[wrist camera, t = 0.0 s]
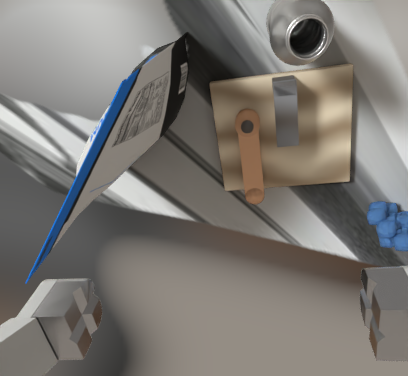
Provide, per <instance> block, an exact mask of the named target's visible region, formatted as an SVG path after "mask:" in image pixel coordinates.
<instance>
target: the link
mask: <svg viewBox="0 0 408 376" xmlns="http://www.w3.org/2000/svg"><path fill="white" fill-rule="evenodd" d="M245 120H250V121H251V122H252V123H253V125H254V128H253V131H252V132H251V133H244V132H243V131H242V130H241V124H242V122H243V121H245ZM259 128H260V118H259V115H258V113H257V112H256V111H254V110H252V109H244V110H241V111H240V112H239V113H238V114H237V116H236V120H235V129H236V131H237V133H238V138H239V147H240V155H241V164H242V172H243V181H244V189H245V197H246V200H247V201H248V202H249V203H251V204H259V203H261V202H262V201H263V199H264V184H263V173H262V162H261V151H260V140H259Z"/></svg>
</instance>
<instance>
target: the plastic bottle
mask: <svg viewBox="0 0 408 376" xmlns="http://www.w3.org/2000/svg"><path fill="white" fill-rule="evenodd" d="M266 25H267V31H268V33H269V36H270V43H271V47H272V49H273V51H274V53H275V55H276V56H277V57H278V58H279V59H280V60H281V61H283V62H285V63H287V64H290V65H296V66H298V65H305V64H309V63H311V62H313V61H315V60H316V59H317V58H319V57H320V56H321V55H322V54H323V53H324V52H325V51H326V49H327V48H328V46H329V45H330V42H331V40H332V37H333V34H334V18H333V15H332V12H331V10H330V9H329V7H328V6H327V5H326V4H325V3H324V2H323V1H321V0H275V1H274V3H273V4H272V5H271V7H270V9H269V12H268V15H267V22H266Z"/></svg>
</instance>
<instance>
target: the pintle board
mask: <svg viewBox="0 0 408 376" xmlns="http://www.w3.org/2000/svg"><path fill="white" fill-rule="evenodd" d="M209 85H210V92H211V99H212V106H213V113H214V119H215V126H216V133H217V140H218V147H219V154H220V160H221V167H222V174H223V181H224V188H225V191H231V190H244V181H243V172H242V164H241V155H240V147H239V138H238V133H237V131H236V129H235V120H236V116H237V114H238V113H239V112H240V111H241V110H244V109H252V110H254V111H256V112H257V113H258V115H259V118H260V128H259V140H260V151H261V162H262V173H263V184H264V188H270V187H283V186H296V185H309V184H322V183H335V182H348V181H350V152H351V121H352V89H353V65H352V64H351V63H350V64H342V65H334V66H327V67H319V68H311V69H304V70H296V71H288V72H281V73H273V74H265V75H258V76H250V77H242V78H235V79H227V80H219V81H211V82H210V84H209ZM253 128H254V125H253V123H252V122H251V121H250V120H245V121H243V122H242V124H241V130H242V131H243V132H244V133H251V132H252V131H253Z"/></svg>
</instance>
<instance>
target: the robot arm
mask: <svg viewBox="0 0 408 376" xmlns="http://www.w3.org/2000/svg"><path fill="white" fill-rule="evenodd" d="M361 281H362V284H363V287H364V288H363V289H362V290H361V291H360V305H361V313H362V317H363V321H364V324H365V326H366V327H367V328H369V329H370V334H369V340H370V343H371V346H372V349H373V352H374V355H375V358H376V360H383V361H385V360H386V361H408V266H401V267H379V268H363V269H362V272H361ZM94 290H95V286H94V284H93V282H92V280H90V279H57V280H56V279H54V280H53V279H52V280H45V281H43V282H41V284H40V285H39V286H38V288H37V289H36V291H35V292H34V293H33V295H32V296H31V298H30V299H29V301H28V302H27V303H26V305H25V306H24V307H23V309H22V310H21V312H20V313H19V314H18V316H17V317H16V318H11V319H9V320H8V321H6V322H5V323H3V324H2V325H0V376H44V375H45V374H46V373H47V372H48V371H49V370H50V369H51V368H52V367H53V366H54V365H55V364H56V363H57V362H58V360H77V359H84V358H85V356H86V353H87V351H88V349H89V347H90V344H91V342H92V338H91V334H92V333H93V332H94V331H95V330H97V329H98V327H99V324H100V322H101V317H102V305H101V302H100V299H99V298H98V297H97V296H96V295H94V294H93V292H94Z"/></svg>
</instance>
